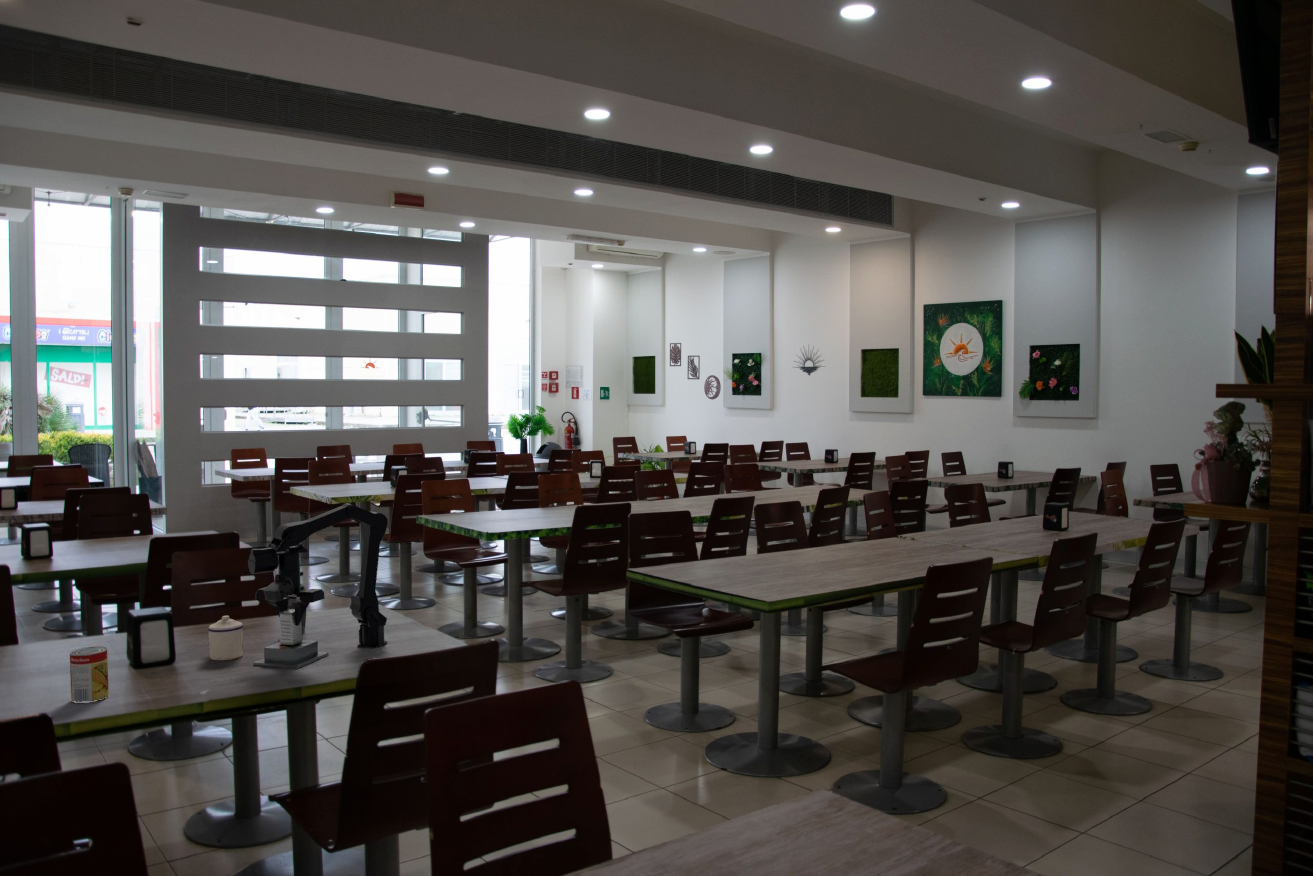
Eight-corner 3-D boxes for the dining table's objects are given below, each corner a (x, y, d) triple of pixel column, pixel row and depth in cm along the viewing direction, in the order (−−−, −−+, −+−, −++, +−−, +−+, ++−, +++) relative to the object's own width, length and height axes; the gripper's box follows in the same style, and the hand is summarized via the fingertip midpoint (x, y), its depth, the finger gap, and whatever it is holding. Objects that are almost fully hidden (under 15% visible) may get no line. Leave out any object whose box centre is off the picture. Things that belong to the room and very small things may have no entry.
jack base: (328, 655, 268) (327, 639, 268) (297, 668, 254) (296, 651, 254) (286, 652, 272) (286, 636, 272) (253, 665, 258) (253, 648, 258)
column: (302, 641, 264) (301, 609, 264) (292, 645, 260) (291, 613, 260) (289, 640, 266) (288, 608, 265) (279, 644, 261) (278, 612, 261)
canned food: (114, 693, 234) (112, 645, 234) (100, 703, 226) (99, 654, 226) (80, 695, 233) (78, 647, 233) (65, 705, 225) (63, 655, 225)
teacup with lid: (250, 655, 269) (249, 614, 269) (222, 662, 261) (221, 621, 261) (224, 649, 275) (223, 610, 275) (195, 657, 267) (194, 616, 267)
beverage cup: (300, 635, 291) (299, 571, 290) (279, 634, 292) (278, 571, 292) (314, 630, 298) (312, 567, 297) (293, 629, 299) (291, 567, 299)
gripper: (241, 573, 257) (242, 630, 258) (299, 576, 252) (301, 633, 252) (268, 566, 268) (269, 620, 268) (325, 569, 263) (326, 624, 263)
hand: (290, 625), depth 263 cm, fingers closed on column, 4 cm apart
